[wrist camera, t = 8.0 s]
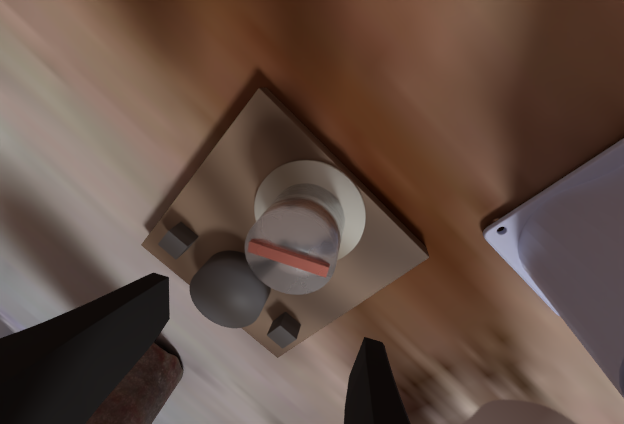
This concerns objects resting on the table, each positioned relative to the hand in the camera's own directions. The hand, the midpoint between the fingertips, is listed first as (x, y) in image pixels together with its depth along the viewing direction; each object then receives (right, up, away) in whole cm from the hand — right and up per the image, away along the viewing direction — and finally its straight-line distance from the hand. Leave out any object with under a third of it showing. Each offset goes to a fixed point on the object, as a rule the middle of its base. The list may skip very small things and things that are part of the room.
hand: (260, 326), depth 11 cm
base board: (-1, +2, +11) cm, 11 cm away
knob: (+2, +4, +8) cm, 9 cm away
